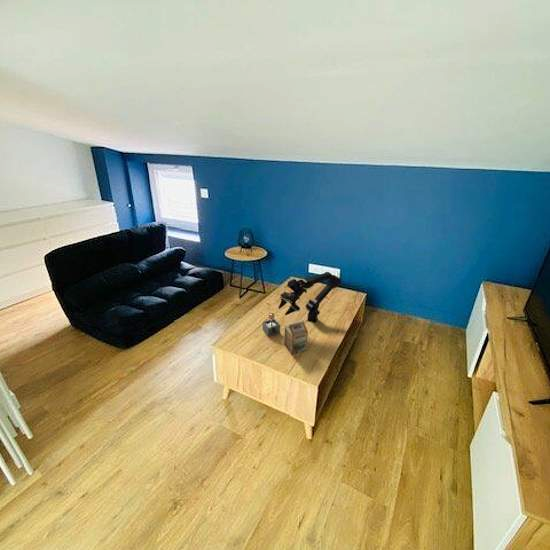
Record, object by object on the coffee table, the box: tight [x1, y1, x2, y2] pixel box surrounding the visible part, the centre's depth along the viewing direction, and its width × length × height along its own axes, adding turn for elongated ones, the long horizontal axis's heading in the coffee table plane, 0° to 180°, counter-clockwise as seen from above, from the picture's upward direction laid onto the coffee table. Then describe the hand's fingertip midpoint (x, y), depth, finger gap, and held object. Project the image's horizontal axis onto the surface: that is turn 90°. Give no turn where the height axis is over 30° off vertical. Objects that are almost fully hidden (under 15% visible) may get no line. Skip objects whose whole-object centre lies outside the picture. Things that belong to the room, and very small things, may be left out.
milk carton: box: [283, 320, 309, 356], centre depth 183 cm, size 10×11×19 cm
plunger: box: [266, 312, 276, 327], centre depth 198 cm, size 7×7×9 cm
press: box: [262, 318, 281, 337], centre depth 200 cm, size 9×11×6 cm
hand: (282, 311), depth 200 cm, fingers open, 9 cm apart
